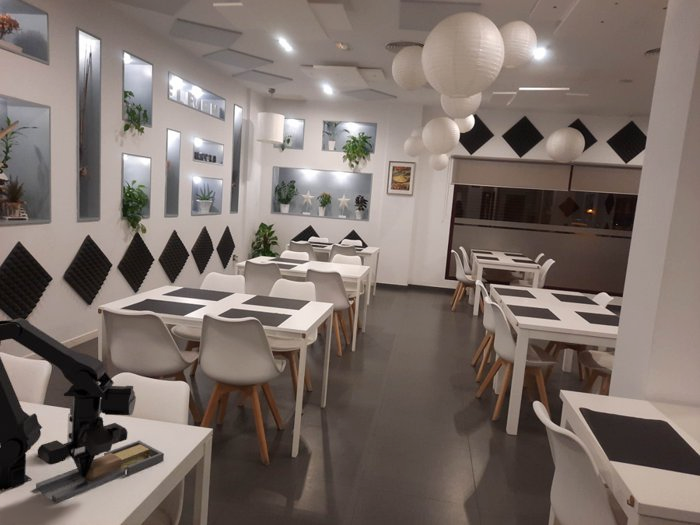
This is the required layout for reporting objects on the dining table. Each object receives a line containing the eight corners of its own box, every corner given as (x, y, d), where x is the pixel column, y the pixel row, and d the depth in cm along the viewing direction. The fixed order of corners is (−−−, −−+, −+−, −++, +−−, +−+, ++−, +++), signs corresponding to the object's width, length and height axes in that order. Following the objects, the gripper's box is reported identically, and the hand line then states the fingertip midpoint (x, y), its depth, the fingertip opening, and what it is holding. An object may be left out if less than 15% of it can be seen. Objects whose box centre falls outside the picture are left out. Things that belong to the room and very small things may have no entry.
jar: (68, 454, 132) (69, 410, 131) (65, 441, 139) (67, 399, 138) (105, 447, 137) (107, 405, 136) (101, 435, 144) (103, 395, 143)
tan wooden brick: (83, 475, 122) (83, 462, 122) (110, 464, 128) (111, 452, 127) (93, 481, 120) (93, 469, 119) (120, 470, 125) (121, 458, 125)
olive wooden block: (111, 465, 128) (111, 454, 127) (126, 460, 131) (126, 449, 131) (120, 471, 125) (121, 460, 125) (135, 465, 129) (135, 454, 128)
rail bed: (35, 490, 115) (36, 483, 115) (104, 464, 129) (104, 457, 129) (55, 505, 110) (56, 498, 110) (125, 476, 124) (125, 469, 124)
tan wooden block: (126, 460, 131) (126, 449, 131) (139, 455, 134) (140, 444, 134) (135, 465, 129) (135, 454, 128) (148, 460, 132) (149, 449, 132)
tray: (103, 462, 130) (104, 453, 129) (138, 449, 138) (139, 440, 138) (128, 477, 124) (128, 467, 123) (163, 462, 132) (163, 453, 132)
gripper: (63, 435, 106) (59, 506, 107) (142, 412, 122) (138, 474, 123) (37, 420, 112) (34, 487, 113) (116, 400, 128) (112, 459, 129)
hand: (83, 476), depth 120 cm, fingers closed
